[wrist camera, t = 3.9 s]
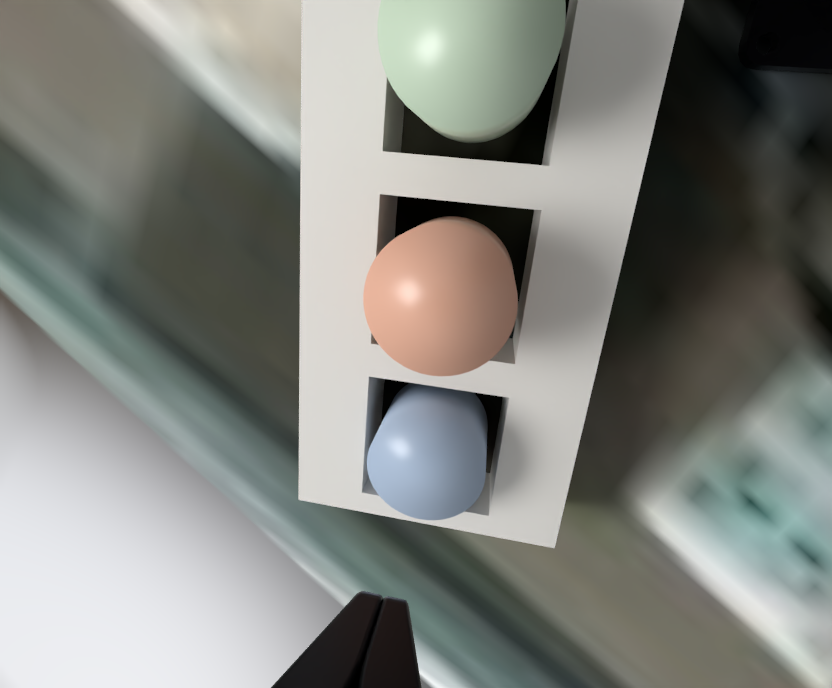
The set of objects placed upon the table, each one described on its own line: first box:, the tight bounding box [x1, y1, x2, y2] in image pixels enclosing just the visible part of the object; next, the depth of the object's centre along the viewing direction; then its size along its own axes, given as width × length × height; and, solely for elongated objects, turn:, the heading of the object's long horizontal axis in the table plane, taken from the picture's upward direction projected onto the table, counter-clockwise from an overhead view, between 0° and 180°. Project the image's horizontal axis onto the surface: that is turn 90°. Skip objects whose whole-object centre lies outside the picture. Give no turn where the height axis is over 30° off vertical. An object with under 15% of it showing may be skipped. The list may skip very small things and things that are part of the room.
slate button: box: [367, 383, 488, 520], centre depth 15 cm, size 4×4×3 cm
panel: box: [299, 0, 684, 548], centre depth 14 cm, size 9×17×2 cm, turn 175°
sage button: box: [378, 0, 566, 143], centre depth 10 cm, size 4×4×3 cm
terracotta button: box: [363, 216, 518, 376], centre depth 12 cm, size 4×4×3 cm
